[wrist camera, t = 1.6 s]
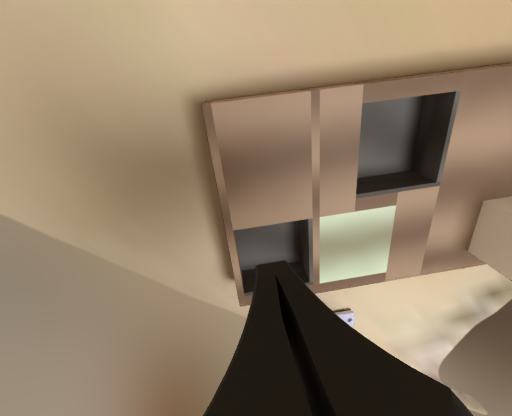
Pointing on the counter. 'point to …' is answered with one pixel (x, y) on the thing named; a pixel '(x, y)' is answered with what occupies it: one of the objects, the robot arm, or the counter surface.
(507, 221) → the block
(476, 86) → the trap board
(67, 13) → the counter surface
